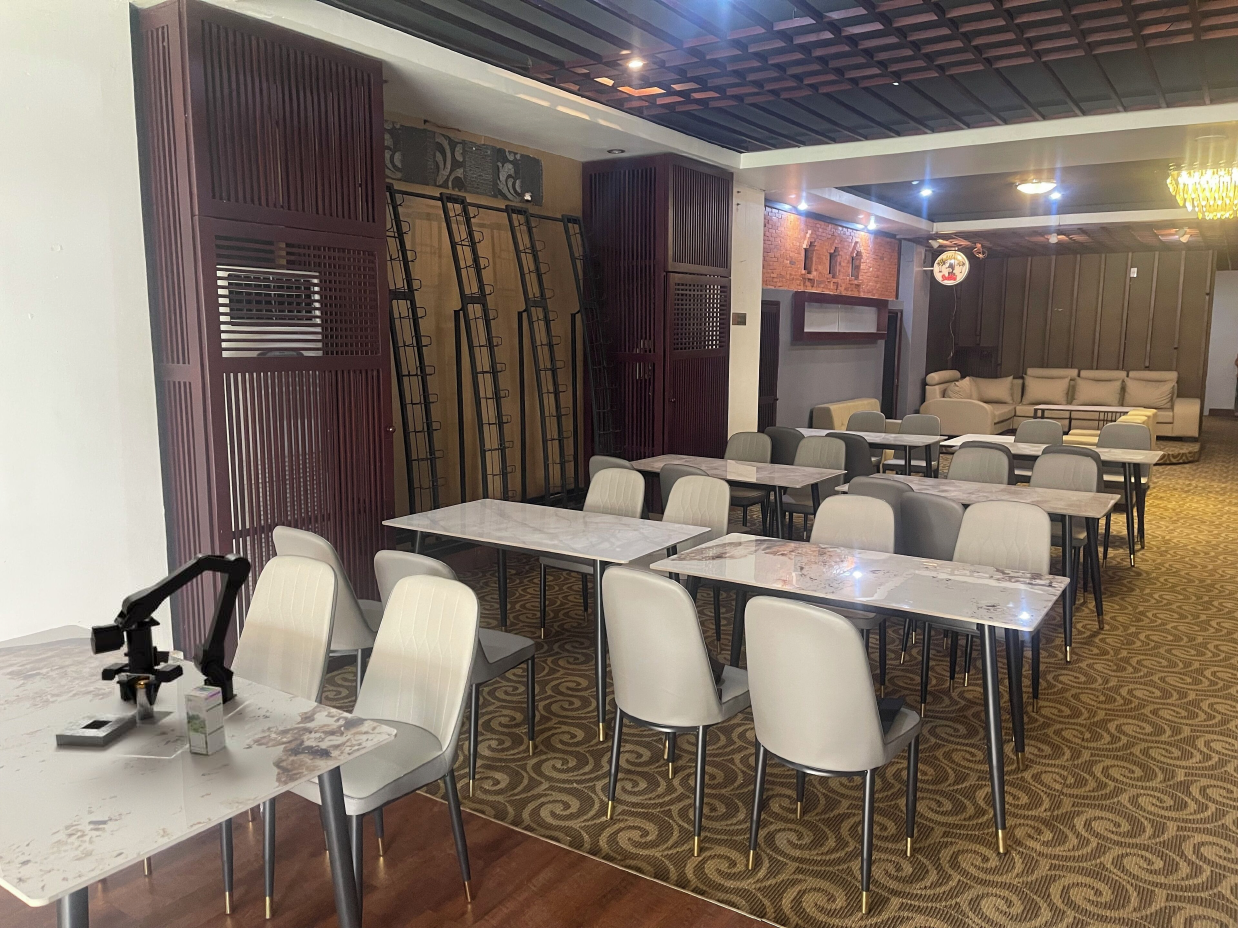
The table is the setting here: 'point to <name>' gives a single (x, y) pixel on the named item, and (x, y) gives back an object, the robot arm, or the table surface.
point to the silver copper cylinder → (143, 701)
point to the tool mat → (154, 720)
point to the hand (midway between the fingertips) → (145, 704)
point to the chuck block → (96, 730)
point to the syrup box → (205, 720)
